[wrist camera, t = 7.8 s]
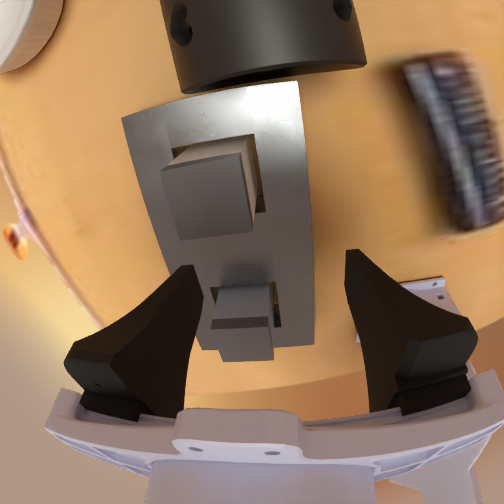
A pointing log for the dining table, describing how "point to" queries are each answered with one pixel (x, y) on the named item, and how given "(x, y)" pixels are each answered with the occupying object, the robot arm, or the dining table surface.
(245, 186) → the plug
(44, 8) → the ramekin
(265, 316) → the twin plug
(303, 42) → the muzzle brake
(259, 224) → the block
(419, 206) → the dining table surface
